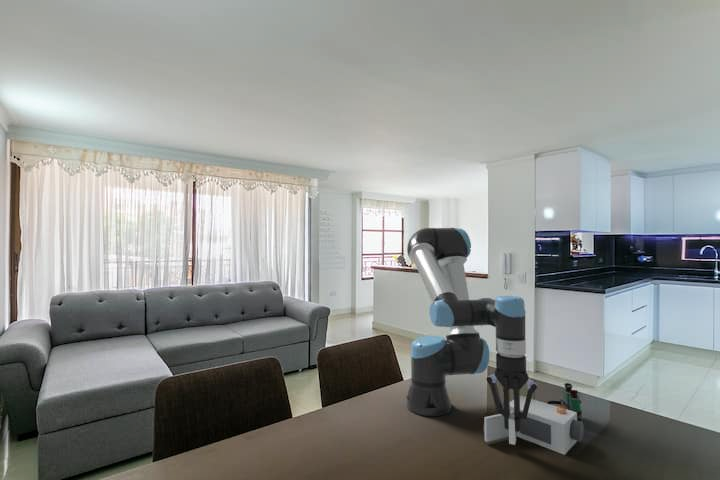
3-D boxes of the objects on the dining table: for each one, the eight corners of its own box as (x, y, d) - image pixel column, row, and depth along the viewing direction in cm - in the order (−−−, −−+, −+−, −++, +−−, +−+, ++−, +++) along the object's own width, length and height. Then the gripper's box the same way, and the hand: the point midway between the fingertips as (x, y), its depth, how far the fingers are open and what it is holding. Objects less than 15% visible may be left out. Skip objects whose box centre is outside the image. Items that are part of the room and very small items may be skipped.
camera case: (505, 432, 107) (505, 402, 107) (520, 420, 114) (520, 392, 114) (572, 458, 94) (572, 424, 94) (585, 443, 101) (584, 412, 101)
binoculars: (541, 382, 120) (573, 381, 118) (544, 414, 120) (577, 414, 118) (549, 393, 112) (584, 392, 110) (553, 427, 111) (589, 427, 109)
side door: (513, 432, 105) (512, 409, 106) (517, 434, 104) (517, 412, 104) (483, 439, 102) (482, 416, 102) (487, 442, 100) (486, 418, 100)
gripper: (483, 354, 98) (484, 442, 97) (536, 360, 92) (538, 455, 91) (488, 347, 105) (489, 430, 104) (538, 353, 98) (540, 441, 98)
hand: (512, 441), depth 97 cm, fingers closed
